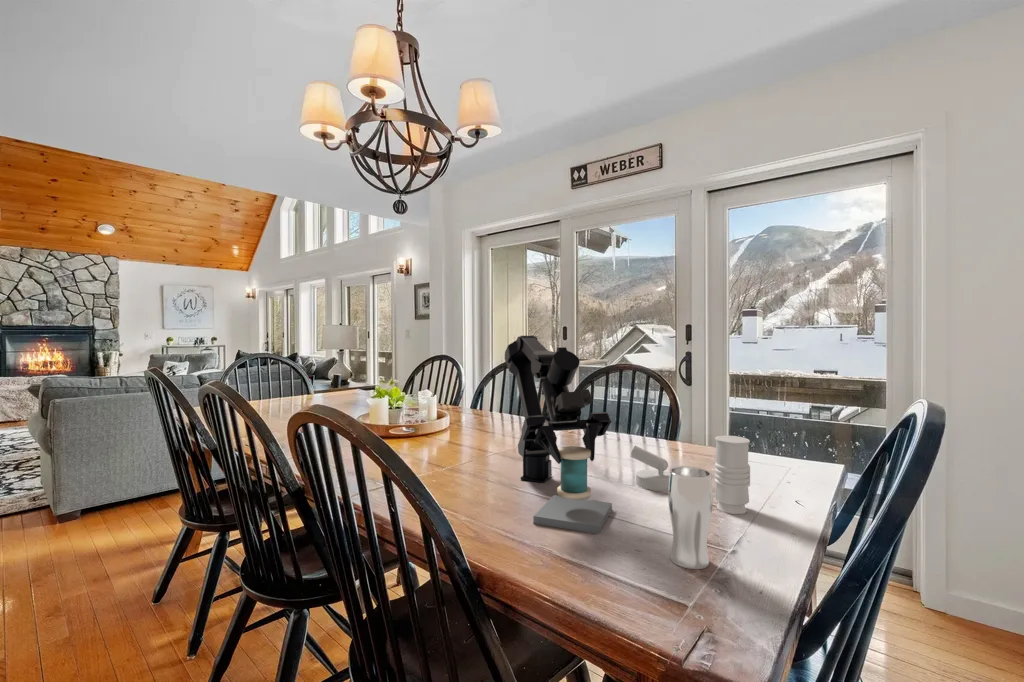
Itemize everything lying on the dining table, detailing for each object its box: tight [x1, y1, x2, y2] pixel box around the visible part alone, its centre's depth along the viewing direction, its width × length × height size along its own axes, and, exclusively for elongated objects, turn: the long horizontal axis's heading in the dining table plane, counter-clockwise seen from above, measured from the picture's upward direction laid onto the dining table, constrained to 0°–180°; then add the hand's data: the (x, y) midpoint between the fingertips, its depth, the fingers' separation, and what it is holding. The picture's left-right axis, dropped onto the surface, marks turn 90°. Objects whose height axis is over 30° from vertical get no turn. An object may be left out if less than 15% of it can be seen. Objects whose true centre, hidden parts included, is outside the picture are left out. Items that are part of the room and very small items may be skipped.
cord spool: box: [556, 445, 592, 500], centre depth 100 cm, size 7×7×9 cm
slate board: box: [532, 494, 613, 535], centre depth 101 cm, size 13×13×2 cm
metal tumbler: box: [667, 465, 714, 570], centre depth 81 cm, size 7×7×15 cm
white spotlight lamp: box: [630, 444, 670, 491], centre depth 121 cm, size 9×10×10 cm
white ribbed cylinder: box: [713, 435, 751, 515], centre depth 104 cm, size 7×7×15 cm
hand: (576, 461), depth 99 cm, fingers closed on cord spool, 7 cm apart
